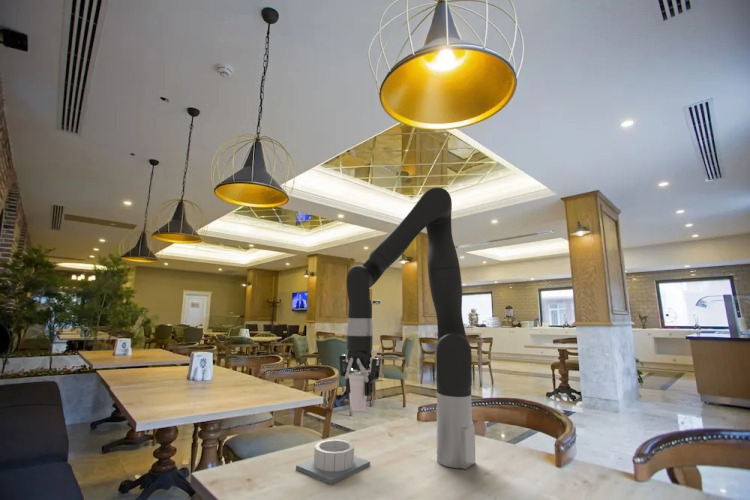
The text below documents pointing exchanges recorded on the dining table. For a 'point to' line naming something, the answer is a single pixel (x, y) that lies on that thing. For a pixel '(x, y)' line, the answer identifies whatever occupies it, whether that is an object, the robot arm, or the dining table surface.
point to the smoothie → (357, 391)
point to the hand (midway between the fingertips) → (358, 393)
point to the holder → (333, 461)
